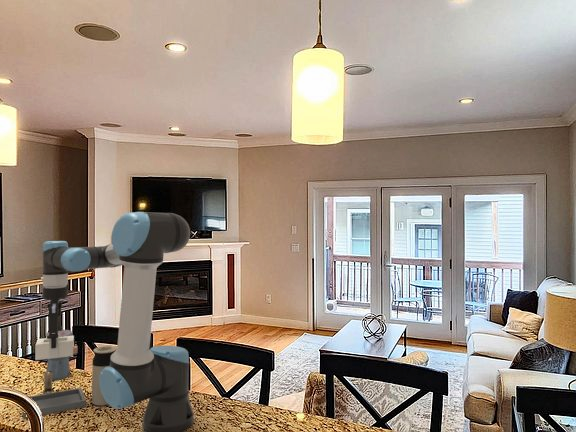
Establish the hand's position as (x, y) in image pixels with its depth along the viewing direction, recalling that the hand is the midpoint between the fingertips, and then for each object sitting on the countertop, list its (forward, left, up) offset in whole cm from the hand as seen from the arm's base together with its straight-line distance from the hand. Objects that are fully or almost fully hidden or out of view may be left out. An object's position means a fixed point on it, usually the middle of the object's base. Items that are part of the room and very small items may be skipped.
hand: (54, 354), depth 150 cm
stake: (+12, +1, -17) cm, 21 cm away
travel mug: (-7, -15, -17) cm, 23 cm away
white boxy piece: (0, 0, 0) cm, 0 cm away
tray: (-2, 0, -17) cm, 17 cm away
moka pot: (+28, -3, -17) cm, 33 cm away
